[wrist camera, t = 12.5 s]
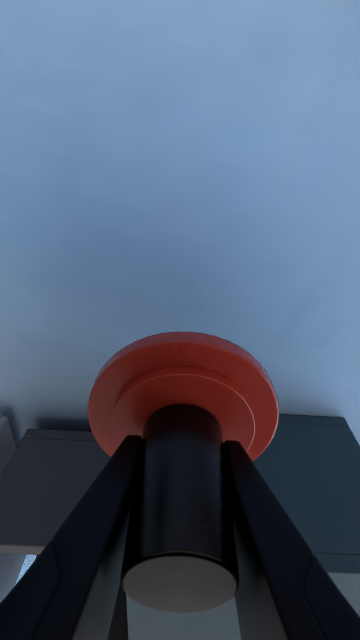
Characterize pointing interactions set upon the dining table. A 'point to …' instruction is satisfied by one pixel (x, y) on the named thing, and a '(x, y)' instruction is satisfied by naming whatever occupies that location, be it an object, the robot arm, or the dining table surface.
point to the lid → (182, 460)
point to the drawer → (45, 498)
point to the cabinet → (305, 511)
